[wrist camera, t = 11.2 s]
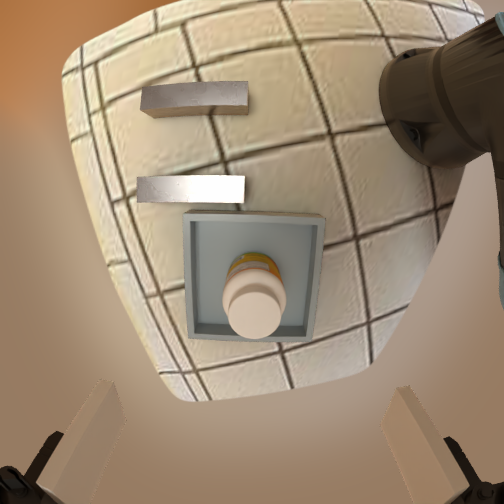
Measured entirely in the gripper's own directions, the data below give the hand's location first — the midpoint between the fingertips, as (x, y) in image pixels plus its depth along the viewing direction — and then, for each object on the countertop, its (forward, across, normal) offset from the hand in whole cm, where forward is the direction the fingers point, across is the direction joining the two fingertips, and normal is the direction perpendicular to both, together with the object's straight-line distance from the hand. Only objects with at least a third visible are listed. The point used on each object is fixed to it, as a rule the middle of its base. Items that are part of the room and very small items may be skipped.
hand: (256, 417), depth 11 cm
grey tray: (+20, 0, 0) cm, 20 cm away
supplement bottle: (+20, 0, 0) cm, 20 cm away
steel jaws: (+20, +6, -13) cm, 25 cm away
